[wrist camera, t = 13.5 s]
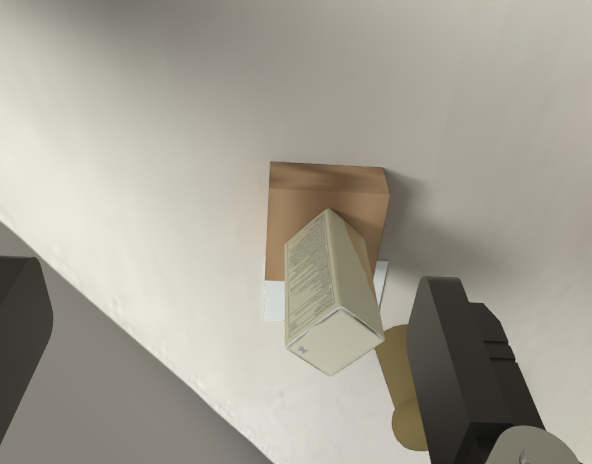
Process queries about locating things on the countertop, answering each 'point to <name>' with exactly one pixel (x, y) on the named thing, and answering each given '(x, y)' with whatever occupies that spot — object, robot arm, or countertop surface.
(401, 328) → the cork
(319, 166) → the base brick
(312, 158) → the countertop surface
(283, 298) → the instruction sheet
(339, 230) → the box
